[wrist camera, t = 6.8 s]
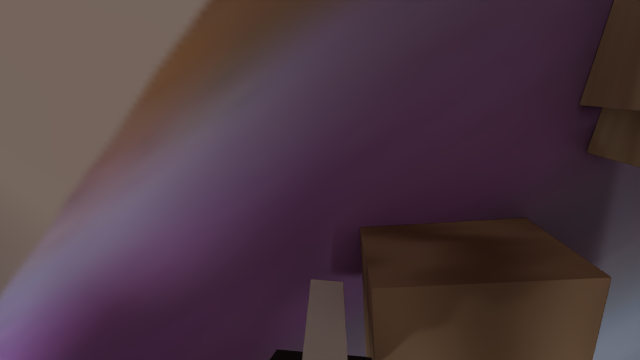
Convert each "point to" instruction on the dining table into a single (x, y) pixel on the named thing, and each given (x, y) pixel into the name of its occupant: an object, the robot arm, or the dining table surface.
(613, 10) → the brown wooden pieces
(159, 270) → the dining table surface
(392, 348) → the block
